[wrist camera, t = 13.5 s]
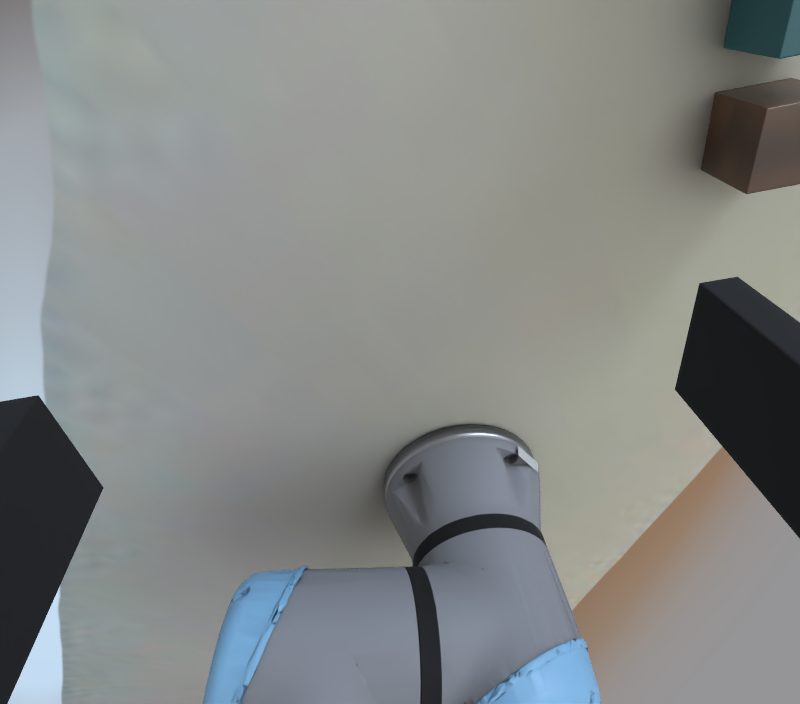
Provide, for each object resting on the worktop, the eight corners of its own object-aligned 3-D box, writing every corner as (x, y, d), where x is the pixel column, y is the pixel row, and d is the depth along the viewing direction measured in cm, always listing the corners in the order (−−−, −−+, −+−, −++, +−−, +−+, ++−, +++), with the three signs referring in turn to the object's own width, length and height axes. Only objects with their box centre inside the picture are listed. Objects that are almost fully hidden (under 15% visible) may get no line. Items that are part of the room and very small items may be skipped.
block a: (771, 156, 37) (825, 179, 33) (700, 170, 37) (746, 194, 33) (791, 77, 34) (854, 92, 30) (714, 92, 34) (767, 108, 30)
